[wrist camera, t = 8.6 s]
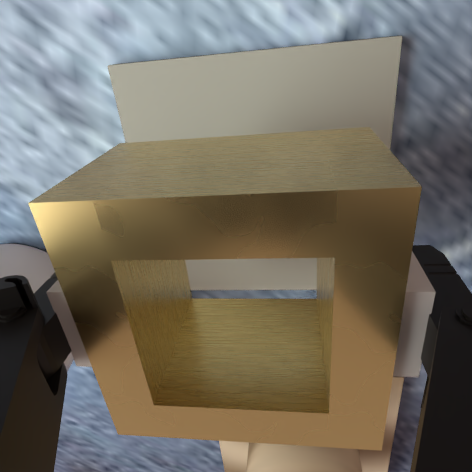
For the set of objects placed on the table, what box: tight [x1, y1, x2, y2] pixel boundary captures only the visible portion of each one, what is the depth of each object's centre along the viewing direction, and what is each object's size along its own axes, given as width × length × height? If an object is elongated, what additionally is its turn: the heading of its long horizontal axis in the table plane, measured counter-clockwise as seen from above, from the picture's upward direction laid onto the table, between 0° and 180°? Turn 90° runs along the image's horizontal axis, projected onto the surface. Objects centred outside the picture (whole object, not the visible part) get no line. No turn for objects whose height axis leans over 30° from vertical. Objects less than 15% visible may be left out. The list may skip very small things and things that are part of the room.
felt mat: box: [108, 36, 402, 290], centre depth 18 cm, size 12×12×1 cm
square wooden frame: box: [29, 127, 422, 451], centre depth 11 cm, size 8×8×5 cm
